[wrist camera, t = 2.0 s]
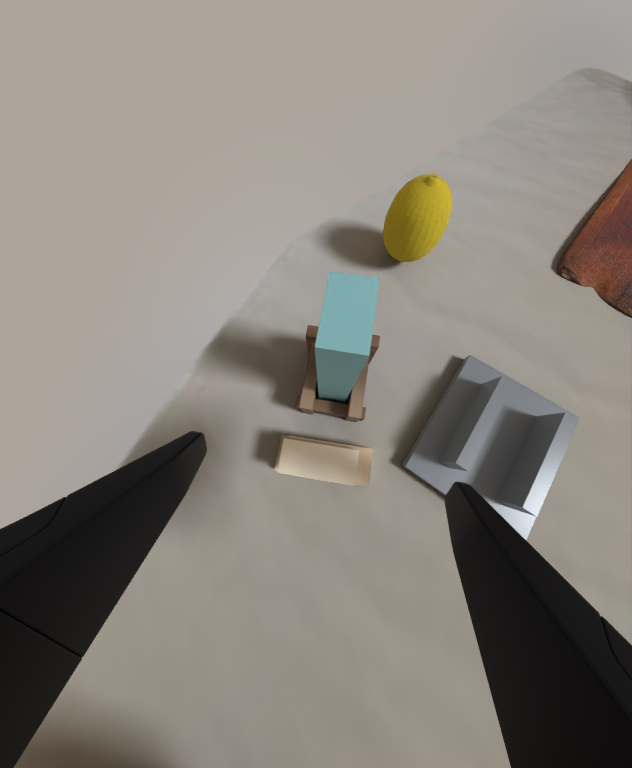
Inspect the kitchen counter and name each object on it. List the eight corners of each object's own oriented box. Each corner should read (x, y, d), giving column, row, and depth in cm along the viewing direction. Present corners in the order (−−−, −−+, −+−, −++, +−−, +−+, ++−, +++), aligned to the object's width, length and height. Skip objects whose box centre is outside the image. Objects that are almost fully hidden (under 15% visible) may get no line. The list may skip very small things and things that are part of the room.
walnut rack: (361, 422, 21) (369, 418, 17) (297, 411, 21) (291, 404, 18) (370, 352, 23) (380, 333, 19) (310, 343, 23) (308, 323, 19)
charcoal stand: (512, 542, 18) (554, 564, 15) (401, 465, 20) (417, 469, 17) (567, 418, 21) (615, 413, 17) (463, 358, 22) (489, 343, 19)
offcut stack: (366, 484, 20) (374, 491, 17) (276, 468, 20) (269, 472, 18) (370, 448, 21) (377, 449, 18) (283, 434, 21) (277, 433, 18)
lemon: (365, 261, 26) (384, 181, 18) (394, 229, 27) (423, 141, 19) (407, 287, 25) (447, 215, 17) (435, 253, 26) (484, 170, 18)
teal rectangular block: (344, 403, 22) (369, 355, 10) (318, 399, 22) (314, 347, 10) (350, 363, 22) (379, 278, 11) (326, 360, 23) (329, 271, 11)
